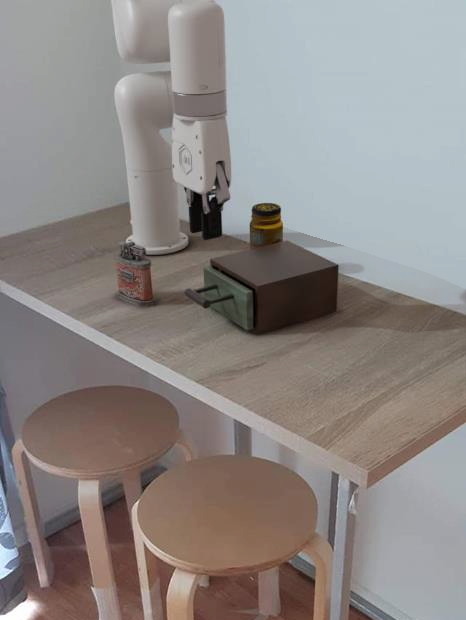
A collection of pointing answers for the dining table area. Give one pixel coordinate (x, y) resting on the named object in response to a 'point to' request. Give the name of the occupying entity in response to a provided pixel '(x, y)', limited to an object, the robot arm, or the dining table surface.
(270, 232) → the condiment
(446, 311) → the dining table surface
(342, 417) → the dining table surface
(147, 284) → the lighter
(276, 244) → the cabinet
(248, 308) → the drawer
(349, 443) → the dining table surface
